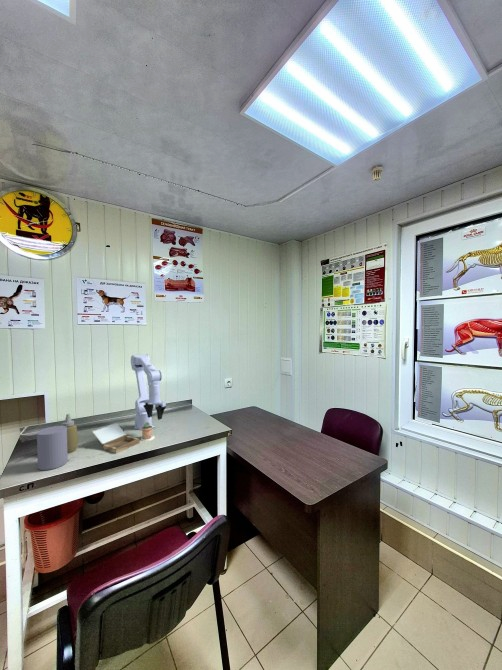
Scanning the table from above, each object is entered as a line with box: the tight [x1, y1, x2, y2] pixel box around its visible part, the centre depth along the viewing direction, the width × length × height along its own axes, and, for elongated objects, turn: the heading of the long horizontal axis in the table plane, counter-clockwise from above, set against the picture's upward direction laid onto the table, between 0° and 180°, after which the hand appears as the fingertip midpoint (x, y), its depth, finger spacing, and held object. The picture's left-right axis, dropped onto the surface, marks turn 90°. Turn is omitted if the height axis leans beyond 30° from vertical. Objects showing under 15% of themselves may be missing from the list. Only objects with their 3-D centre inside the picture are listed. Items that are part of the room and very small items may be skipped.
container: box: [36, 425, 69, 471], centre depth 114 cm, size 10×10×15 cm
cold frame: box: [102, 428, 141, 454], centre depth 132 cm, size 14×14×5 cm
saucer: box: [140, 435, 156, 442], centre depth 140 cm, size 7×7×1 cm
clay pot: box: [140, 422, 153, 440], centre depth 140 cm, size 5×5×8 cm
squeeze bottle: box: [61, 413, 80, 454], centre depth 126 cm, size 8×8×18 cm
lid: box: [91, 422, 127, 446], centre depth 135 cm, size 10×13×1 cm
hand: (154, 418), depth 143 cm, fingers open, 7 cm apart
